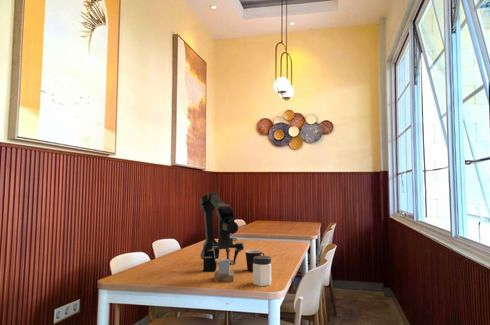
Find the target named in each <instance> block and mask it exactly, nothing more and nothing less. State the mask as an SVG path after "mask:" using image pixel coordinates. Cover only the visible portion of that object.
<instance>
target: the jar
mask: <svg viewBox="0 0 490 325" xmlns="http://www.w3.org/2000/svg"><path fill="white" fill-rule="evenodd" d="M271 284H272V257H271V256H267V255H264V256H263V255H261V256H255V257H254V258H253V272H252V285H254V286H258V287H269V286H271Z"/></svg>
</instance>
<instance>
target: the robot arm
mask: <svg viewBox="0 0 490 325" xmlns="http://www.w3.org/2000/svg"><path fill="white" fill-rule="evenodd" d="M228 204H229V203H224V201H223V200H222V199H221V198H220V196H219V194H218V193H217V192H208V193H207V194H206V195H203V196H201V197H200V199H199V206H200V210H201V212H202V213H203V216H204V217H203V218H204V219H203V220H204V221H203V222H204V231H205V232H204V233H205V241H204V242H203V245H202V250H201V252H200V259H201V260H203V268H202V272H216V271H217V267H218V266H217V263H218V262H217V260H219V258H220V257H219V256H220V250H226V249H234V254H233V255H234V256H233V260H232V261H233V265H236V264H235V262H236V259H237V256H238V254H239V252H240V253H241V251H244V248H245V246H244V242H243V241H242V242H239V241H238V242H237V241H235V243H234V241H233V239H230V237H231V235H234V234H236V233H237V232H238V231H239V224H238V223H237V222H236V215H235V212H234V209H233V208H232V206H231V205H230V204H229V205H228ZM214 211H215V215H216V217H217V218H218V219H217V222H218V239H217V241H216V239H215V227H214V214H213V213H214ZM216 259H217V260H216Z"/></svg>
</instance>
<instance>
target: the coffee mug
mask: <svg viewBox="0 0 490 325" xmlns="http://www.w3.org/2000/svg"><path fill="white" fill-rule="evenodd" d="M255 256H265V254H264V252H262V251H261V250H256V249H254V250H253V249H250V250H245V259H246V260H245V261H246V268H247V272H249V273H253V258H254V257H255Z"/></svg>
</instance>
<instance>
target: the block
mask: <svg viewBox="0 0 490 325" xmlns="http://www.w3.org/2000/svg"><path fill="white" fill-rule="evenodd" d="M230 260H231V259H230V258H229V259H227V258H226V259H223V258H222V259H219V258H218V271H219V274H229V272H230V271H231V270H230V267H231V265H230Z"/></svg>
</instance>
